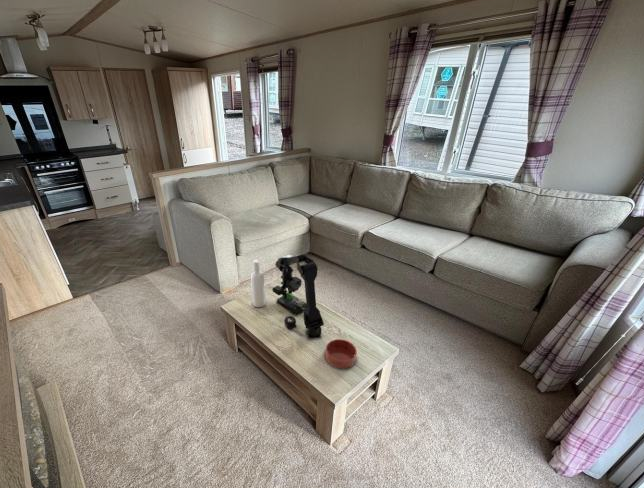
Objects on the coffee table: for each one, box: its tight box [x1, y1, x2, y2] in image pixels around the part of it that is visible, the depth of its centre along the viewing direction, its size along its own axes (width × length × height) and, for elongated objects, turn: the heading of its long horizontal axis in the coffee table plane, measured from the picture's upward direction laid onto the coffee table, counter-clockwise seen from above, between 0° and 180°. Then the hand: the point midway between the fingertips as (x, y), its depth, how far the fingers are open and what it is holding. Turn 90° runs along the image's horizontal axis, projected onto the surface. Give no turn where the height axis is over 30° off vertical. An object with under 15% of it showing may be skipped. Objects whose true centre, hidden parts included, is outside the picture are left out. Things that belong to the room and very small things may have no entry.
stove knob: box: [296, 298, 303, 308], centre depth 175 cm, size 4×4×4 cm
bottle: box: [250, 259, 267, 308], centre depth 176 cm, size 8×8×30 cm
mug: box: [283, 313, 302, 335], centre depth 161 cm, size 12×6×7 cm, turn 42°
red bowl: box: [325, 338, 358, 369], centre depth 144 cm, size 14×14×5 cm
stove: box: [276, 295, 307, 317], centre depth 180 cm, size 18×10×3 cm, turn 40°
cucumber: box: [281, 292, 295, 300], centre depth 181 cm, size 4×9×4 cm, turn 40°
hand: (287, 297), depth 182 cm, fingers closed on cucumber, 3 cm apart
